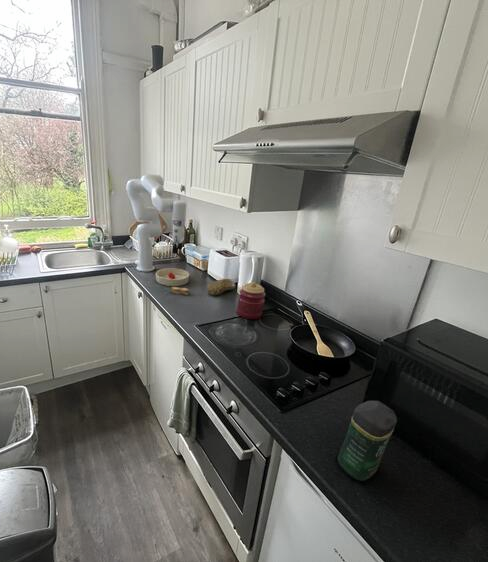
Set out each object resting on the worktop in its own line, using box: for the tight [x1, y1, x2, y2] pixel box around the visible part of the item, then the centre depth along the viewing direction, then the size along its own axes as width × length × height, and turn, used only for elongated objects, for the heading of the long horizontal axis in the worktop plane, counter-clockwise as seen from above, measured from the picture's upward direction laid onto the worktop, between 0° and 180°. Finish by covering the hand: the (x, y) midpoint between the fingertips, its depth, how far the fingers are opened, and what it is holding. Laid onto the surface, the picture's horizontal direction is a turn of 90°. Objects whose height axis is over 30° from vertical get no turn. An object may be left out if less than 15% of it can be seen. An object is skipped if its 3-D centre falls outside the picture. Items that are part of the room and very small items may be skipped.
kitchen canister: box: [236, 281, 266, 320], centre depth 150 cm, size 13×13×18 cm
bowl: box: [155, 267, 190, 287], centre depth 189 cm, size 21×21×4 cm
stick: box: [170, 286, 190, 296], centre depth 172 cm, size 10×3×3 cm, turn 80°
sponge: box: [206, 278, 236, 296], centre depth 176 cm, size 13×8×20 cm
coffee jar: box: [337, 400, 398, 482], centre depth 73 cm, size 10×8×19 cm
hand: (177, 251), depth 178 cm, fingers open, 9 cm apart
